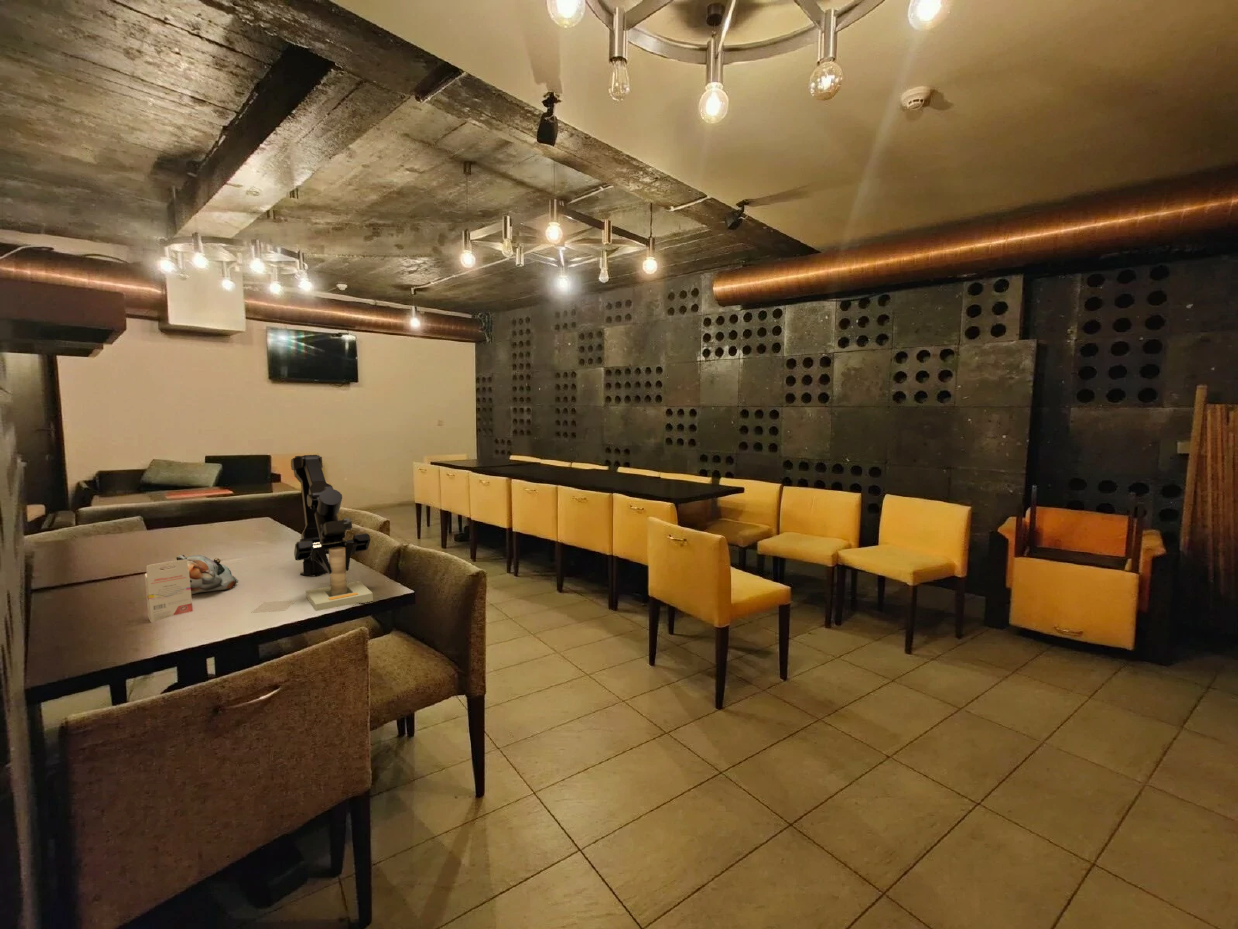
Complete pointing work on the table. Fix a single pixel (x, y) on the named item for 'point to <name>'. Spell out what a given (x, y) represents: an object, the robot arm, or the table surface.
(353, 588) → the socket block
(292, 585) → the table surface
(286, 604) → the tab
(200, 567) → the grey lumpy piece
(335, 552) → the birch peg
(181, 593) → the ink cartridge box
